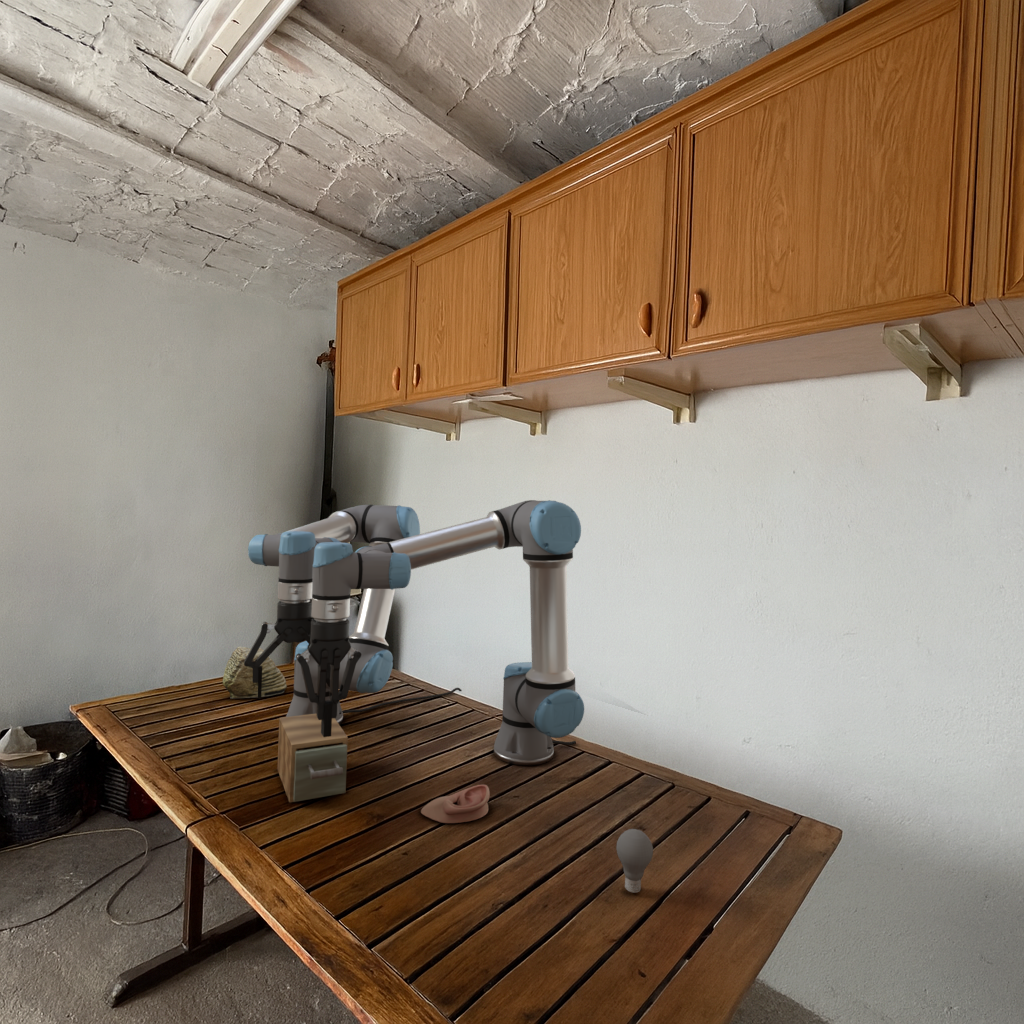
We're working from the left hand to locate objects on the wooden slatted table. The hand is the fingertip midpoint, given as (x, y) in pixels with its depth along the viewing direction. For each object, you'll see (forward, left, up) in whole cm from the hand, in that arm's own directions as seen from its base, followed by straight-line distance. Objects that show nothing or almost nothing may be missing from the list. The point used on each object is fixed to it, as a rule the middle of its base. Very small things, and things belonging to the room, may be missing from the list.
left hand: (292, 694), depth 142 cm
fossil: (-24, -58, -19) cm, 66 cm away
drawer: (0, +10, -18) cm, 20 cm away
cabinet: (-2, +5, -19) cm, 19 cm away
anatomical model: (-15, +38, -19) cm, 45 cm away
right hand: (+3, +18, -3) cm, 18 cm away
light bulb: (-15, +78, -19) cm, 82 cm away
